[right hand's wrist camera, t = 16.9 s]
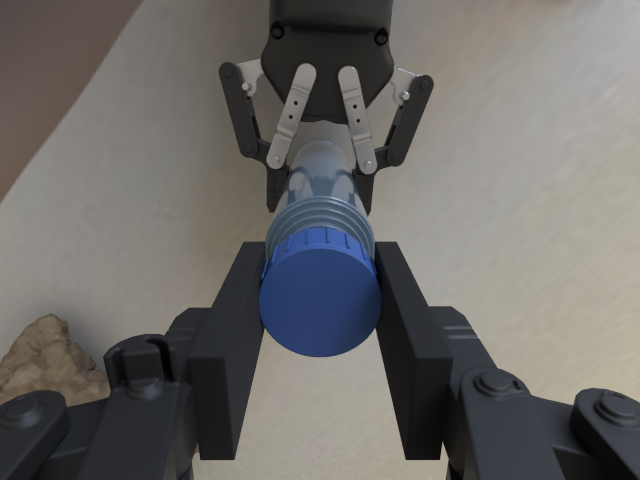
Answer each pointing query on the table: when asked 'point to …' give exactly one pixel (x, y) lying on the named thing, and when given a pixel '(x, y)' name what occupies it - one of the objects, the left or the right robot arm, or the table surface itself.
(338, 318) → the cap
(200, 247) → the table surface
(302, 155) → the bottle
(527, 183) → the table surface
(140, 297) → the table surface
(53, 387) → the stone
